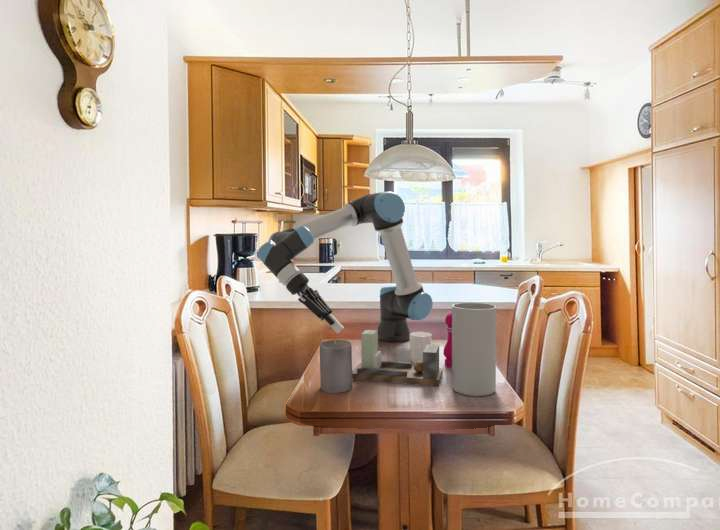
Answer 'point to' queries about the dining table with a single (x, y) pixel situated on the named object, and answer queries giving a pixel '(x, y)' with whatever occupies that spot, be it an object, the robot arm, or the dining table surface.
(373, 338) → the block
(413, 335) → the white cup
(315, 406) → the dining table surface
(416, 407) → the dining table surface
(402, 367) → the press bench
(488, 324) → the cylinder vase
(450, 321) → the pink bowling pin
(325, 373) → the pillar candle
